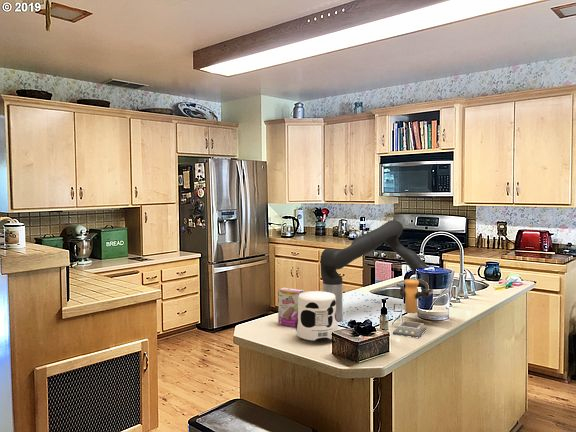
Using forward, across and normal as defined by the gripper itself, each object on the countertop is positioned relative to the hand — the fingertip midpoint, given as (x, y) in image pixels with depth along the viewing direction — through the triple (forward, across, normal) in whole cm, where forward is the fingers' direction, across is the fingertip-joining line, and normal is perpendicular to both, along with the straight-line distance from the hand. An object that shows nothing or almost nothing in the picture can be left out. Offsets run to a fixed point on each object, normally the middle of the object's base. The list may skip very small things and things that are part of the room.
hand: (409, 295), depth 199 cm
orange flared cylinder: (-3, 0, +8) cm, 8 cm away
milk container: (+26, -31, +16) cm, 43 cm away
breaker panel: (-1, 0, +16) cm, 16 cm away
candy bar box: (+16, -49, +16) cm, 54 cm away
